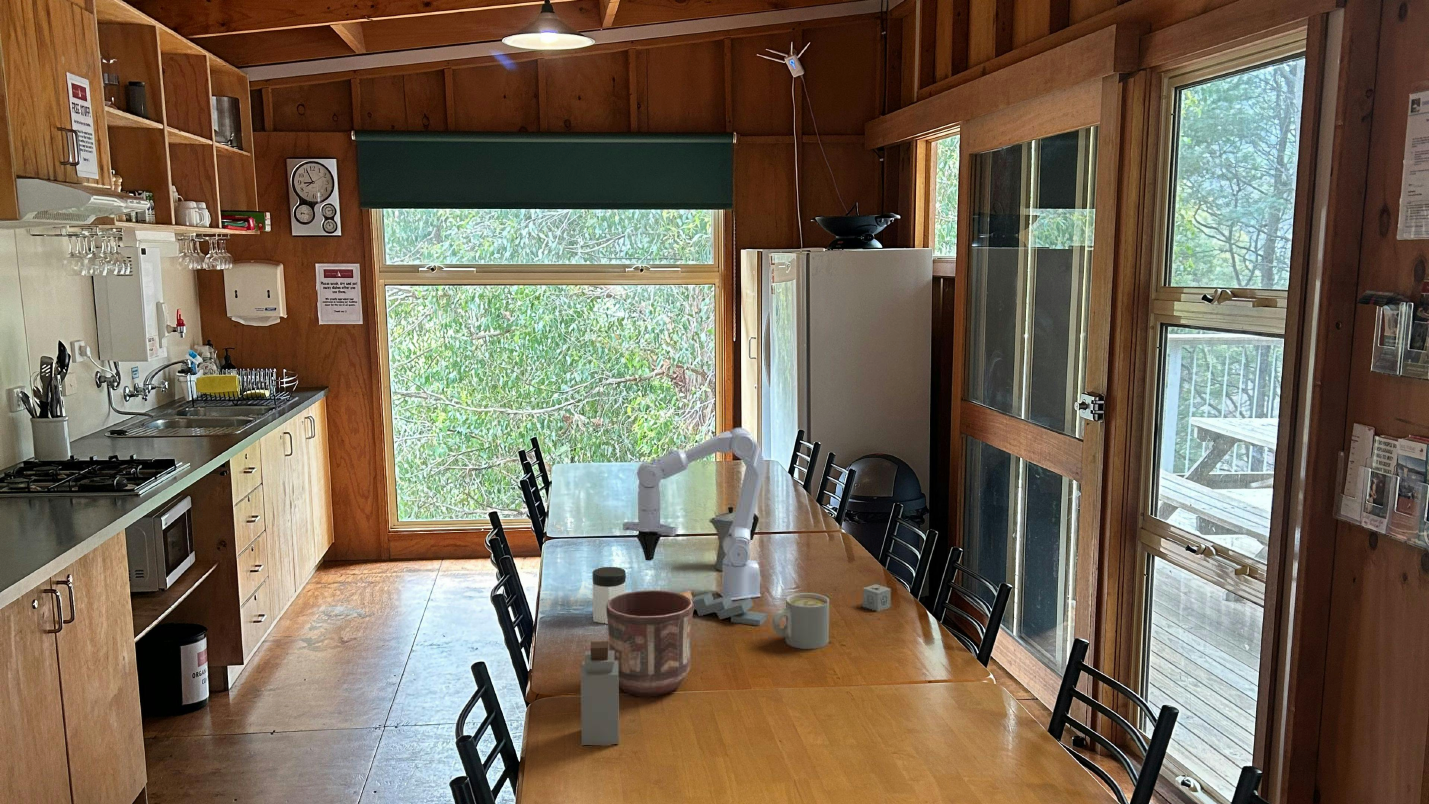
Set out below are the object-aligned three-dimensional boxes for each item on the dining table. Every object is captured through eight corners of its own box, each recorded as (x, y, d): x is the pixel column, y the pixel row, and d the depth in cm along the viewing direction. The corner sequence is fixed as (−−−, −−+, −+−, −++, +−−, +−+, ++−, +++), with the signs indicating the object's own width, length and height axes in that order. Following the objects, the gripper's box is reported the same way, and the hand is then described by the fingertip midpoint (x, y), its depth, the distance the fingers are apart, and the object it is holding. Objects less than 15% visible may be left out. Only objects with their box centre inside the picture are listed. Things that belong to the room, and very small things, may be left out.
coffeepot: (715, 575, 291) (715, 512, 289) (703, 565, 300) (703, 505, 297) (765, 568, 297) (765, 507, 295) (751, 559, 306) (751, 500, 303)
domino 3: (696, 608, 258) (722, 601, 255) (704, 602, 263) (729, 595, 260) (699, 616, 258) (724, 608, 255) (706, 609, 263) (732, 602, 260)
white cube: (862, 606, 265) (862, 588, 265) (875, 602, 269) (875, 584, 268) (877, 612, 262) (878, 593, 261) (890, 607, 265) (890, 588, 264)
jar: (601, 626, 250) (600, 578, 249) (585, 617, 257) (585, 570, 255) (633, 619, 255) (633, 572, 254) (617, 610, 262) (617, 564, 260)
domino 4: (716, 612, 255) (741, 604, 252) (726, 605, 260) (750, 597, 256) (719, 619, 255) (744, 612, 252) (729, 612, 260) (753, 605, 256)
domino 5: (731, 615, 254) (759, 620, 251) (738, 609, 259) (766, 613, 256) (730, 623, 254) (759, 628, 251) (738, 617, 259) (766, 621, 256)
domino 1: (656, 602, 262) (681, 596, 259) (665, 596, 267) (689, 590, 264) (659, 610, 262) (684, 603, 259) (667, 604, 267) (692, 597, 264)
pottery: (660, 710, 204) (660, 622, 202) (590, 690, 214) (589, 606, 211) (708, 680, 219) (709, 598, 217) (641, 663, 228) (641, 584, 226)
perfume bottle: (583, 729, 196) (581, 638, 194) (619, 728, 197) (618, 637, 194) (581, 746, 190) (580, 652, 187) (618, 744, 190) (617, 651, 188)
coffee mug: (822, 632, 247) (823, 592, 246) (833, 648, 237) (834, 605, 236) (767, 635, 245) (767, 594, 244) (776, 651, 235) (776, 608, 234)
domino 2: (677, 605, 260) (703, 598, 257) (685, 599, 265) (710, 592, 262) (680, 613, 260) (706, 605, 257) (688, 607, 265) (713, 599, 262)
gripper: (616, 509, 267) (617, 560, 269) (667, 514, 262) (667, 567, 264) (629, 503, 274) (630, 553, 276) (679, 508, 268) (679, 559, 270)
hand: (649, 559), depth 270 cm, fingers closed
